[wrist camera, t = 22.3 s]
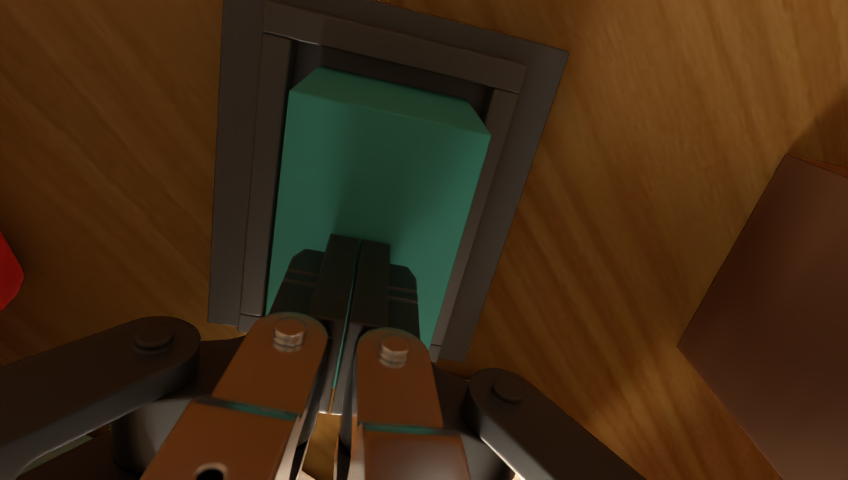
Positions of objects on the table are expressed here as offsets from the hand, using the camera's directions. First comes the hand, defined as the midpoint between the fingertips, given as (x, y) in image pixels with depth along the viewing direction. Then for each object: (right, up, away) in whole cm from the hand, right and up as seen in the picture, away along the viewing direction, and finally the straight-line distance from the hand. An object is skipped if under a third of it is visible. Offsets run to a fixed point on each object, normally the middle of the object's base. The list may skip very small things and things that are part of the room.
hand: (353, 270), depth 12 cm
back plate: (0, +3, +5) cm, 6 cm away
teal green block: (0, +2, +4) cm, 5 cm away
